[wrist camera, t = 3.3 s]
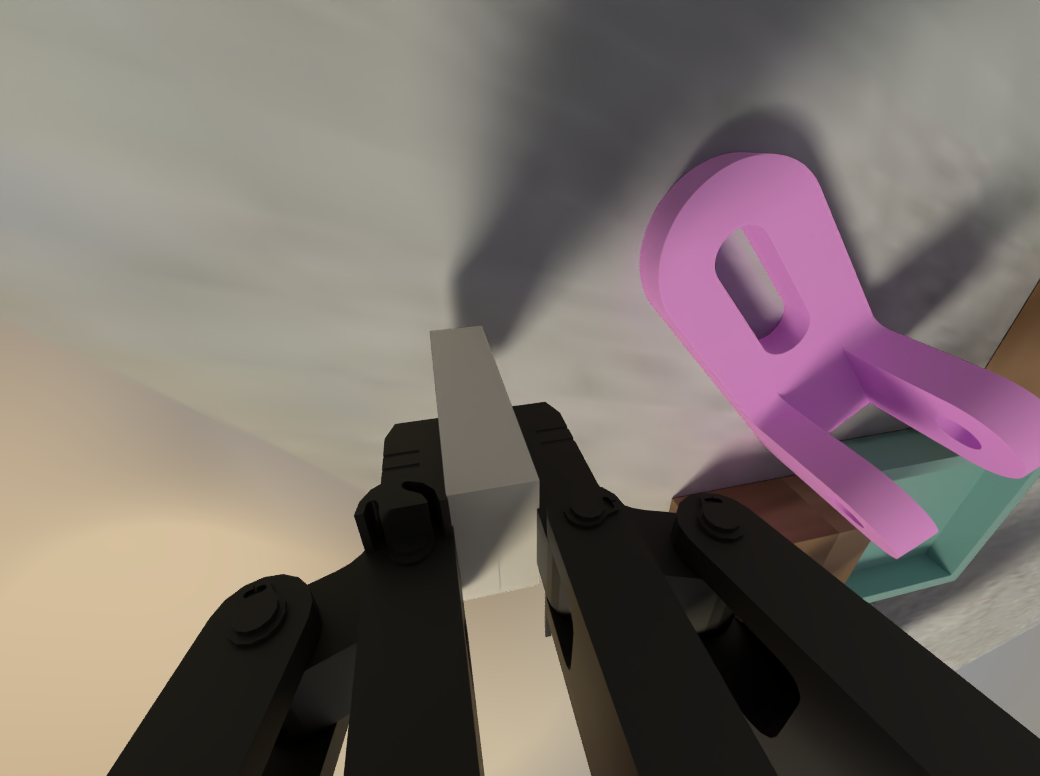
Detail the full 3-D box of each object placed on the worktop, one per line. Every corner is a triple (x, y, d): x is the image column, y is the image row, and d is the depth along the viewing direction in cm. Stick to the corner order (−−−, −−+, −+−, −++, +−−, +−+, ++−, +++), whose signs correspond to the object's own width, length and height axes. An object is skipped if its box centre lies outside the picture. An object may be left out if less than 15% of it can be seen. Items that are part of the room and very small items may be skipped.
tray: (836, 441, 21) (877, 471, 19) (1020, 409, 23) (1074, 433, 21) (769, 588, 27) (796, 621, 25) (920, 552, 29) (955, 580, 27)
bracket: (869, 365, 19) (1075, 469, 13) (764, 446, 20) (908, 574, 14) (750, 106, 12) (1054, 83, 7) (605, 249, 14) (753, 337, 8)
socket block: (672, 498, 20) (716, 560, 17) (816, 470, 22) (880, 524, 19) (649, 599, 24) (682, 663, 22) (771, 571, 26) (818, 627, 23)
